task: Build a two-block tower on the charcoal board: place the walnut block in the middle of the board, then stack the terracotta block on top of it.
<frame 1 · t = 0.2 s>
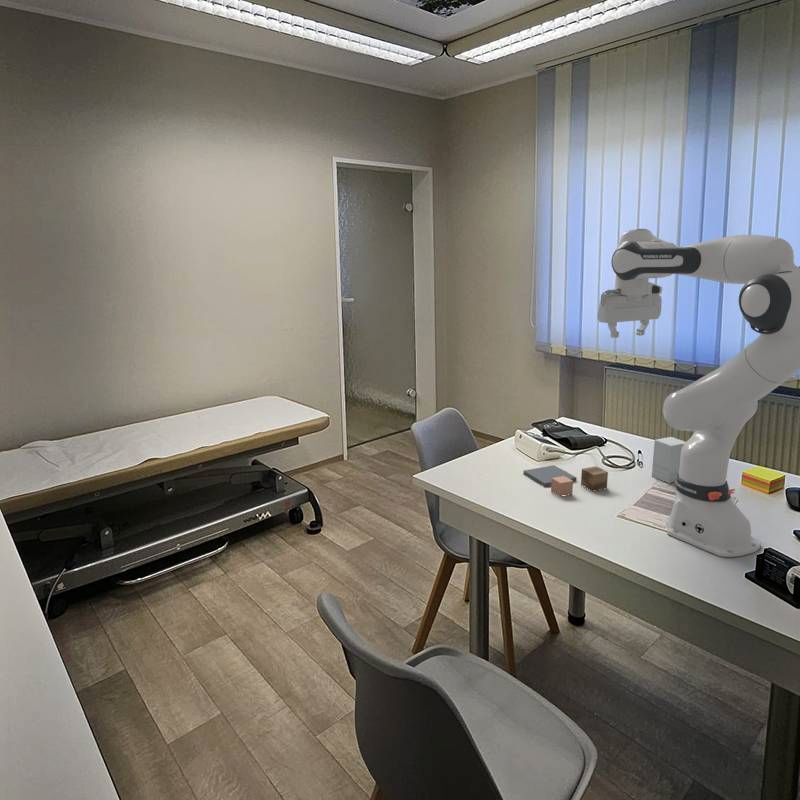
hand: (627, 336, 178), 47 cm above the table, tool pointing down, fingers open, 8 cm apart
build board: (549, 477, 198), on the table
walnut block: (593, 487, 190), on the table
terracotta block: (561, 493, 186), on the table
supplement box: (668, 478, 196), on the table
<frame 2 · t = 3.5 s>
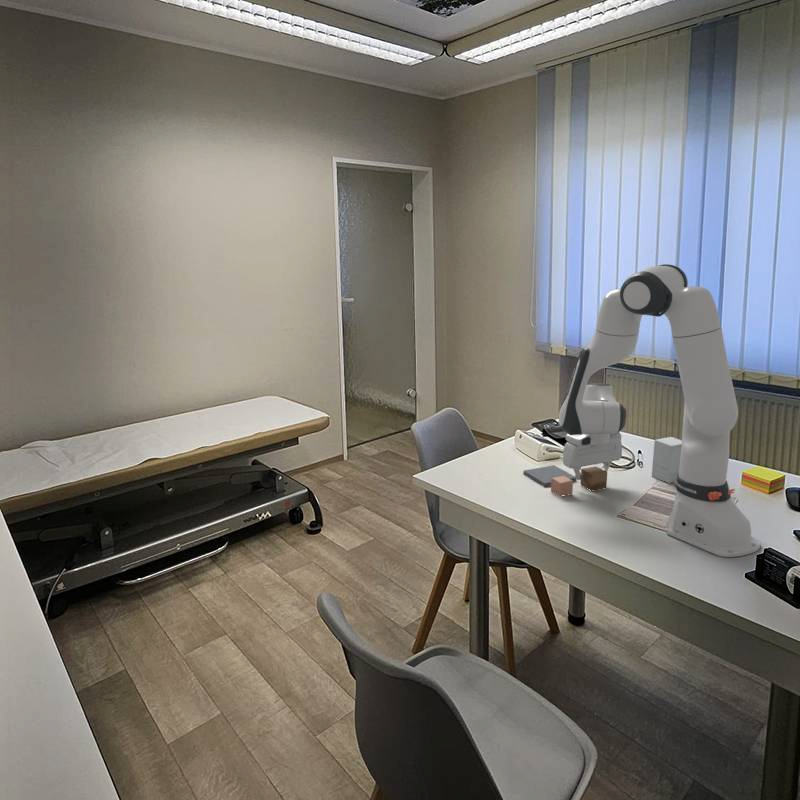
hand: (591, 476, 190), 3 cm above the table, tool pointing down, fingers open, 8 cm apart
nothing on the table moved.
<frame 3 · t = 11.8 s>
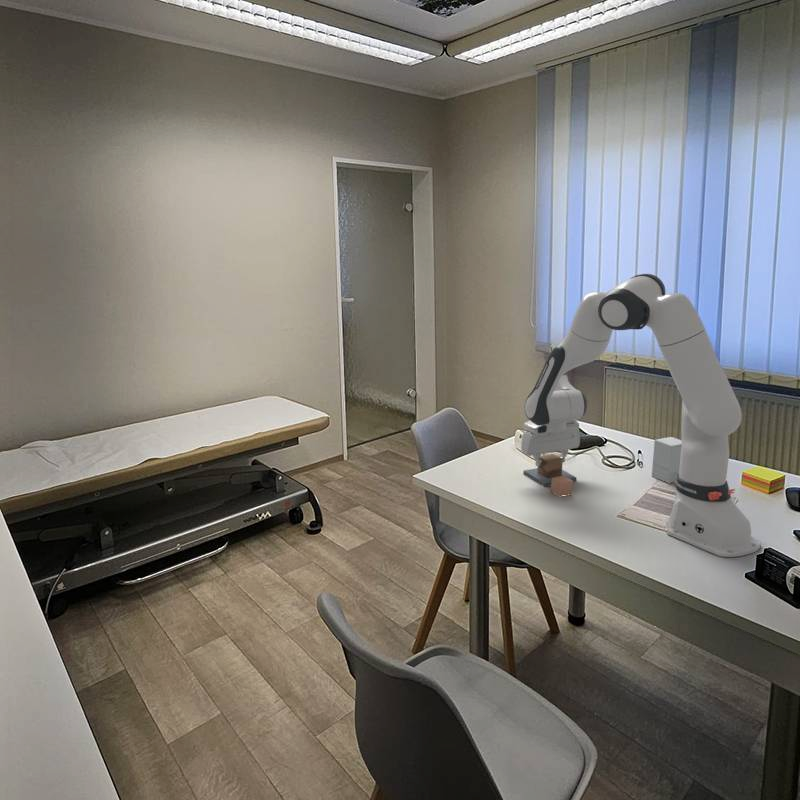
hand: (550, 464, 197), 5 cm above the table, tool pointing down, fingers open, 7 cm apart
walnut block: (549, 473, 198), point 1 cm above the table, touching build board
everything else where it was.
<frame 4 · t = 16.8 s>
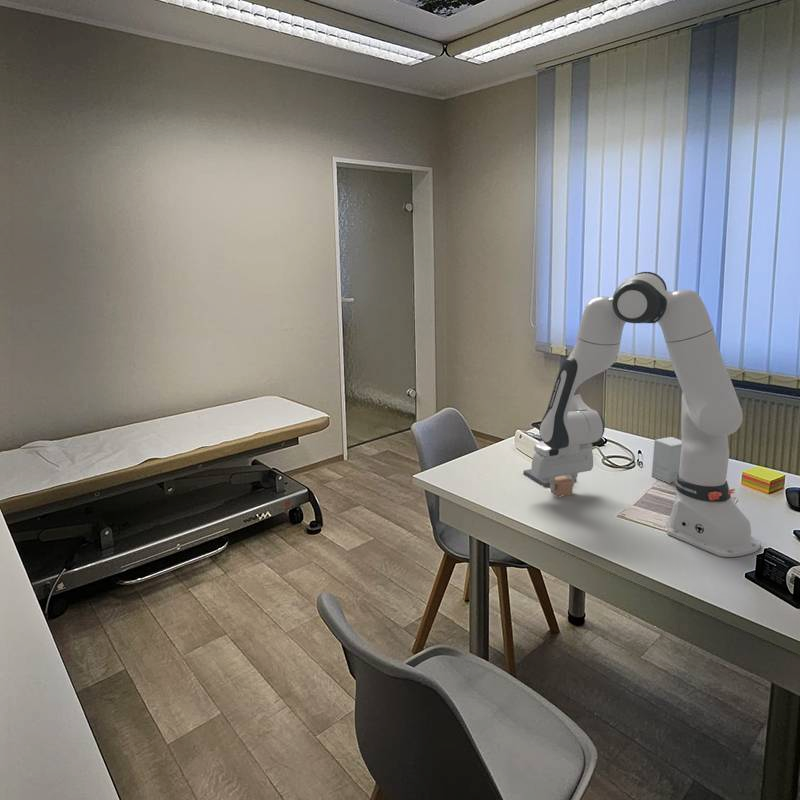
hand: (561, 487, 186), 2 cm above the table, tool pointing down, fingers closed on terracotta block, 4 cm apart
terracotta block: (561, 492, 186), on the table, touching gripper
everything else where it was.
when the fingers open (10 cm above the table, at t = 23.6 s): terracotta block drops 1 cm, resting on walnut block.
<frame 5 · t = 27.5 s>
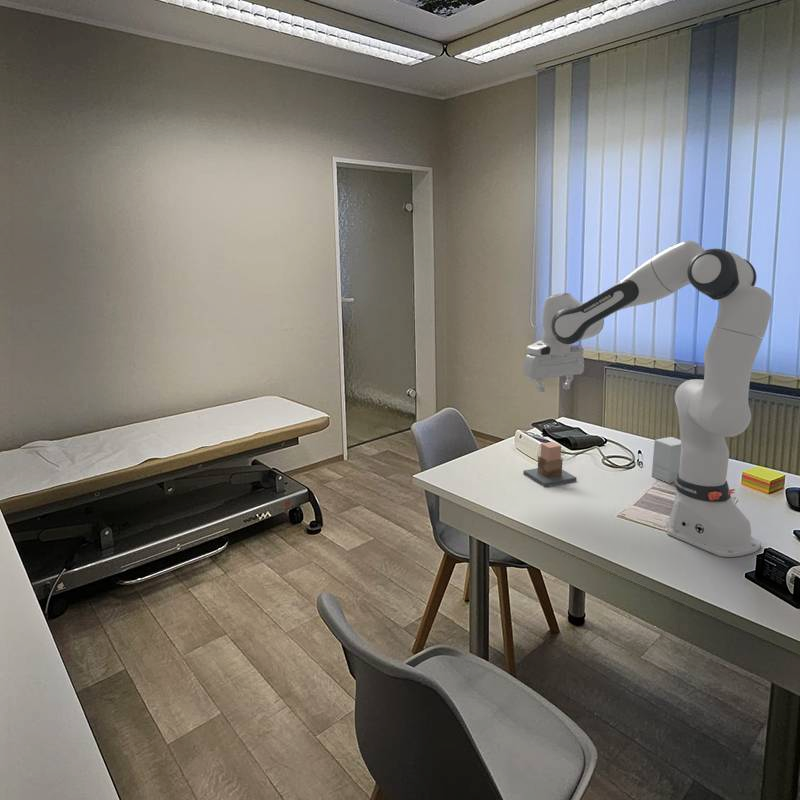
hand: (553, 390, 191), 29 cm above the table, tool pointing down, fingers open, 8 cm apart
walnut block: (549, 473, 198), point 1 cm above the table, touching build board, terracotta block
terracotta block: (550, 457, 197), point 7 cm above the table, touching walnut block
everything else where it was.
at the end: walnut block 0.1 cm off-centre on the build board, point 1.2 cm above the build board's base; terracotta block 0.1 cm off-centre on the walnut block, point 5.5 cm above the walnut block's base; terracotta block tilted 0° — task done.
